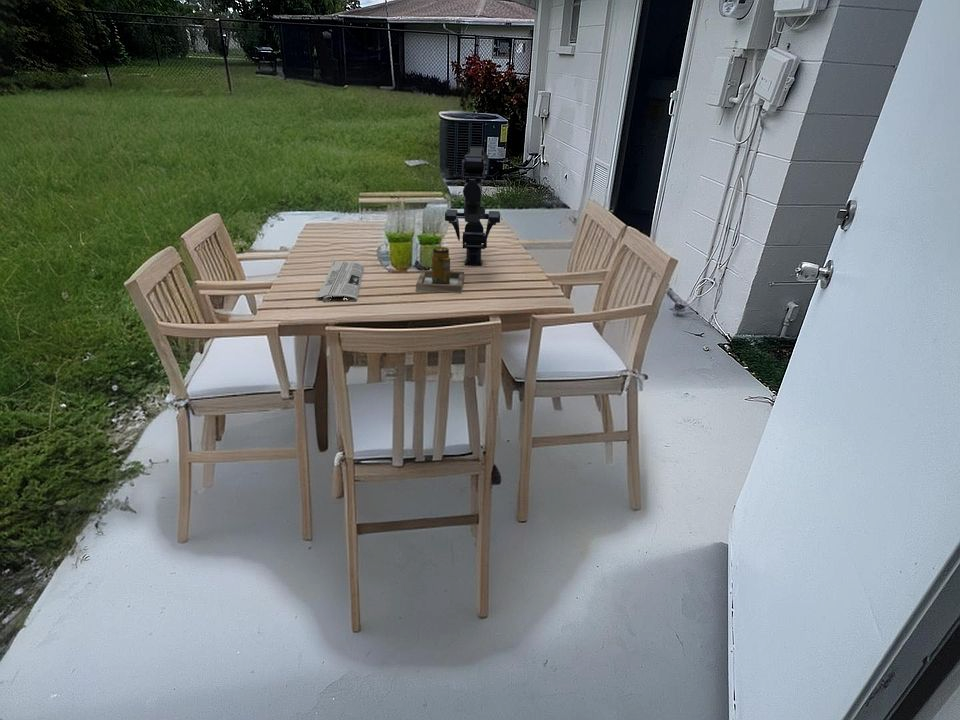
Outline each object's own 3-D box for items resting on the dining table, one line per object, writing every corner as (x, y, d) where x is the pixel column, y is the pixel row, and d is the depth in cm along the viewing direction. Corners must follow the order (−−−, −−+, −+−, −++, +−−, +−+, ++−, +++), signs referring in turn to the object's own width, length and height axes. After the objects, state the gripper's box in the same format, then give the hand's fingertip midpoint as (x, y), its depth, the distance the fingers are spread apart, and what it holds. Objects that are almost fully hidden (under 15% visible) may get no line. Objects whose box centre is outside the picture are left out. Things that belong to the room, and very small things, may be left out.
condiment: (446, 278, 199) (446, 245, 194) (456, 286, 193) (457, 251, 187) (427, 281, 196) (426, 247, 190) (437, 289, 189) (437, 254, 184)
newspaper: (356, 303, 179) (356, 292, 177) (316, 303, 177) (315, 293, 176) (364, 268, 210) (363, 258, 208) (329, 268, 209) (329, 259, 207)
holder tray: (421, 277, 201) (421, 270, 200) (464, 278, 201) (464, 271, 200) (416, 291, 188) (416, 284, 187) (461, 293, 188) (461, 286, 186)
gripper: (443, 199, 183) (443, 246, 190) (501, 201, 183) (498, 248, 190) (446, 192, 193) (446, 237, 200) (501, 194, 193) (499, 239, 200)
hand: (472, 240), depth 197 cm, fingers open, 9 cm apart
